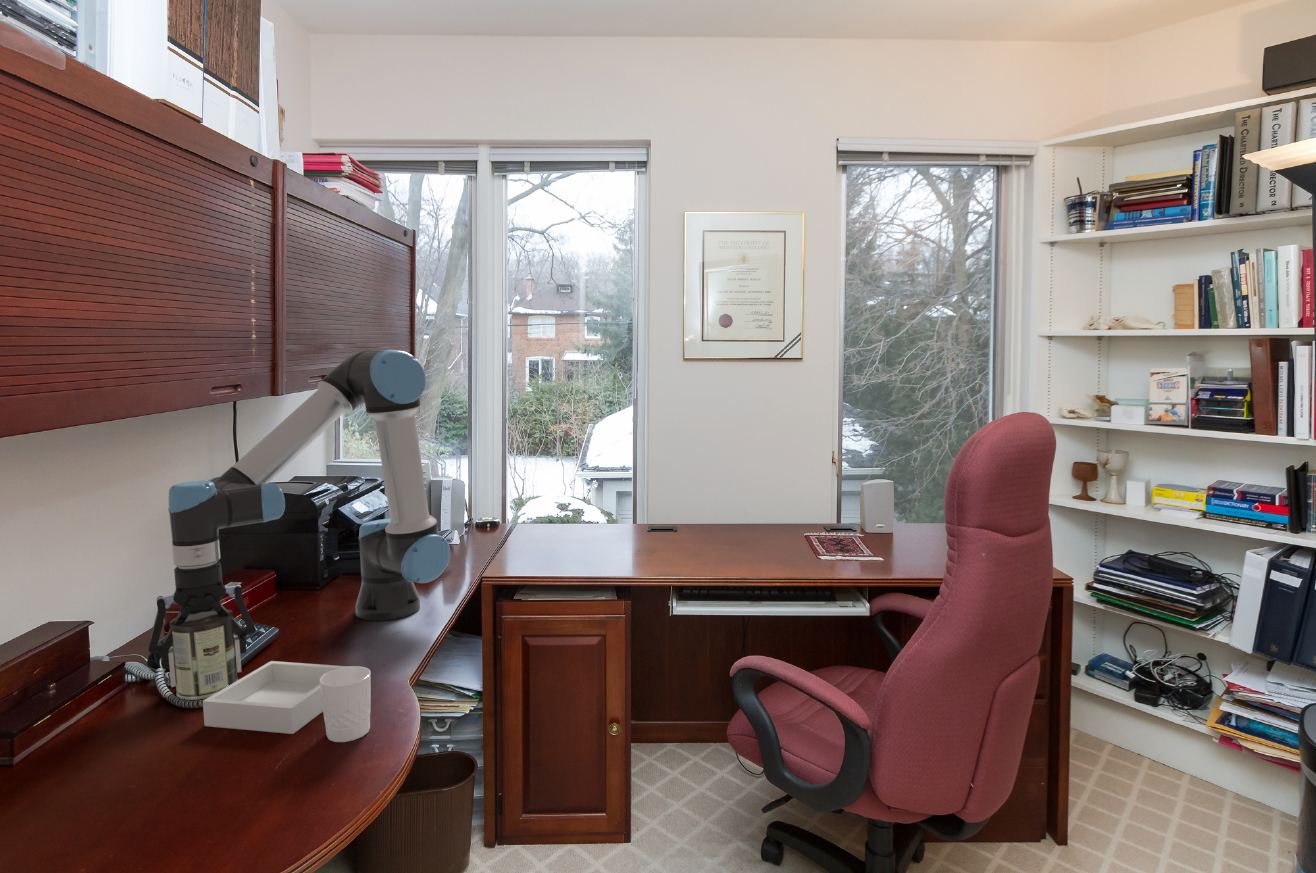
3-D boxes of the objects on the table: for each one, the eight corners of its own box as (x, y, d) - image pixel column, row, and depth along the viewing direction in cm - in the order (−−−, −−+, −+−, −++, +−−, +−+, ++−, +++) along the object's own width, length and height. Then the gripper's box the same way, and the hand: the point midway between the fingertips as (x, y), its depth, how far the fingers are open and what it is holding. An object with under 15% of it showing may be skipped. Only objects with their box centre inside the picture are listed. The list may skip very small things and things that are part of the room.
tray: (204, 725, 128) (202, 700, 127) (272, 683, 144) (271, 660, 144) (293, 733, 125) (291, 708, 124) (352, 689, 141) (350, 666, 141)
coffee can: (211, 673, 149) (205, 605, 148) (250, 680, 146) (245, 611, 144) (162, 696, 139) (155, 623, 138) (203, 703, 136) (197, 629, 134)
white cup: (322, 748, 120) (319, 689, 119) (323, 726, 127) (319, 670, 126) (374, 738, 123) (371, 680, 122) (372, 717, 130) (369, 662, 129)
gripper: (123, 579, 130) (134, 700, 133) (267, 558, 143) (275, 668, 146) (124, 569, 137) (134, 685, 139) (262, 550, 149) (269, 656, 152)
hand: (206, 676), depth 142 cm, fingers closed on coffee can, 10 cm apart
